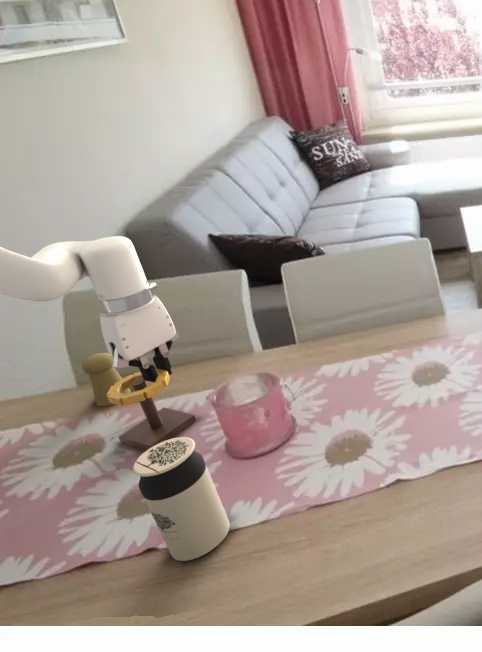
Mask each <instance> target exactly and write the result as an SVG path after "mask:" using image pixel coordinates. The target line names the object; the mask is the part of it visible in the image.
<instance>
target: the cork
mask: <svg viewBox="0 0 482 652" xmlns="http://www.w3.org/2000/svg"><path fill="white" fill-rule="evenodd" d="M113 360H114V358H113V357H111V356H110V354H109V352H99V353H95V354H93V355H90V356H88V357H87V358H85V359H84V360H83V361H82V363H81V369H82V371H83V372H84V373H85V374H87V375H88V376H89V380H90V384H91V389H92V392H93V396H94V401H95V404H96V406H99V407H107V406H111V405H113V404H112V403H110V402H109V400H108V398H107V393H108V391H109V389H110V388H111V386H113V385H114V384H115V383H117V382H118V381H120V380H122V379H123V377H122V376H121V375H120V373H119V372H118V371H117V368H114V367H113ZM131 391H132V390H131V389H130V387H129V388H128V389H126V390H124V391H123V393H124V394H127V393H131Z"/></svg>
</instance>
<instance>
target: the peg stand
mask: <svg viewBox="0 0 482 652" xmlns="http://www.w3.org/2000/svg"><path fill="white" fill-rule="evenodd" d="M147 386H148V385H147V383H146V381H145V380H144V379H140V380H137V381H135V382H133V383H132V386H131V387H132V389H133V392H135V391H139V390H142V389H144V388H146V387H147ZM139 405H140V407H141V409H142V411H143V414H144V416H145V419H144V420H142V421H140V422H139V423H137V424H136V425H134V426H132V427H131V428H130V429H128V430H127V431H125V432H123V433H122V434H120V435H119V436H118V440H119V441H120V443H122V444H124V445H128V446H133V447H135V448H138V449H143V450H146V451H147V450H148V449H150V448H151V447H153V446H155V445H157V444H159V443H161V442H163V441H166V440H169V439H173V438H174V437H175V436H176V435H178V434H179V433H181V432H182V431H183V430H185V429H187V427H189V426H190V425H192V424H193V423H195V422H196V421H197V419H196V417H195V415H194V414H192V413H187V412H185V411H181V410H176V409H172V408H168V407H162V408H161V409H159V410H158V408H157V406H156V403H155V401H154V399H153V396H152V397H150V398H149V399H148V398H146V399H145V400H144V401H140V402H139Z"/></svg>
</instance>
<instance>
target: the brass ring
mask: <svg viewBox="0 0 482 652" xmlns="http://www.w3.org/2000/svg"><path fill="white" fill-rule="evenodd" d="M155 369H156V371H157V374H158V377H157V379H156V381H155V382H152V383H151V384H149V385H147V387H146V388H144V389H142V390H139V391H132V392H130V393H127V394H124V393H123V391H124V390H126V389H128V388H129V389H130V388H131V387H132V383H133V382H135V381H137V380H140V379H144V378H143V376H142V374H141V372H140V371H137V372H134V373H133V374H129V375H127V376H125V377H124V378H122V380H120V381H118V382H117V383H115V384H114V385H113V386H111V388H110V389H109V391H108V393H107V398H108V400H109V402H110V403H112V404H111V405H116V406H120V407H121V406H122V407H123V406H128V405H133V404H136V403H140V401H144V400H145V399H146V398H148V399H149V398H150V397H152V398H153V397H154V396H155V395H158V394H159V393H160V392H162V391H164V390H165V389H166V388H167V387H168V385H169V383H170V380H171V375H169V373H168V372H167V371H166V370H162V369H157V368H156V367H155ZM145 382H147V381H146V380H145Z"/></svg>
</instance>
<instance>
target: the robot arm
mask: <svg viewBox="0 0 482 652" xmlns="http://www.w3.org/2000/svg"><path fill="white" fill-rule="evenodd" d="M87 277H88V278H89V280H90V282H91V284H92V286H93V290H94V292H95V294H96V297H97V298H98V301H99V303H100V305H101V307H102V311H103V312H101V313H100V314H99V322H100V329H101V333H102V337H103V340H104V345H105V347H106V350H107V353H108V354H110V356H111V357H113V359H114V360H113V367H114V368H115V369H116V370H117V369H118V370H121V369H122V370H123V369H126V368H131V367H134V368H138V369H139V372H141V374H142V376H143V378H144V380H146V381H145V382H150V383H154V382H155V381H156V379H157V377H158V374H157V371H156V368H157V369H162V370H166V371H167V372H168V373H169V376H171V375H173V372H172V369H171V368H172V365H171V363H170V359H169V356H170V350H171V348H172V345H173V343H175V341H177V340H178V339H179V338H180V337H181V334H180V332H179V331H178V330H176V327H175V324H174V322H173V320H172V318H171V316H170V314H169V312H168V311H167V309H166V307H165V306H164V304H163V302H162V301H161V300H160V298H158V295H155V294H154V292H153V291H154V289H156V288H158V287H157V286H158V284H156V282H155V281H152V282H148V280H147V276H146V274H145V271H144V269H143V266H142V264H141V262H140V258H139V256H138V254H137V251H136V248H135V245H134V243H133V242H132V241H131V239H129V237H126V236H123V235H115V236H114V235H113V236H106V237H102V238H97V239H95V240H81V241H80V240H79V241H77V240H75V241H59V242H53V243H51V244H48V245H46V246H44V247H43V248H41V249H40V250H39V251H37V252H36V253H35V254H33V255H32V256H31V257H30V256H26V255H24V254H21V253H18V252H15V251H11V250H9V249H6V248H4V247H2V246H0V294H1V295H4V296H8V297H12V298H15V299H19V300H23V301H28V302H29V301H30V302H50V301H53V300H54V301H55V300H57V299H60V298H62V297H64V296H65V295H66V294H68V292H70V291H71V290H72V289H73V288H74V286H75V285H76V284H77V283H78V282H80V281H81V280H83V279H85V278H87ZM151 351H152V353H153V356H152V361H153V363H154V364H151V363H150V360H149V358H148V356H147V353H149V352H151Z"/></svg>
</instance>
